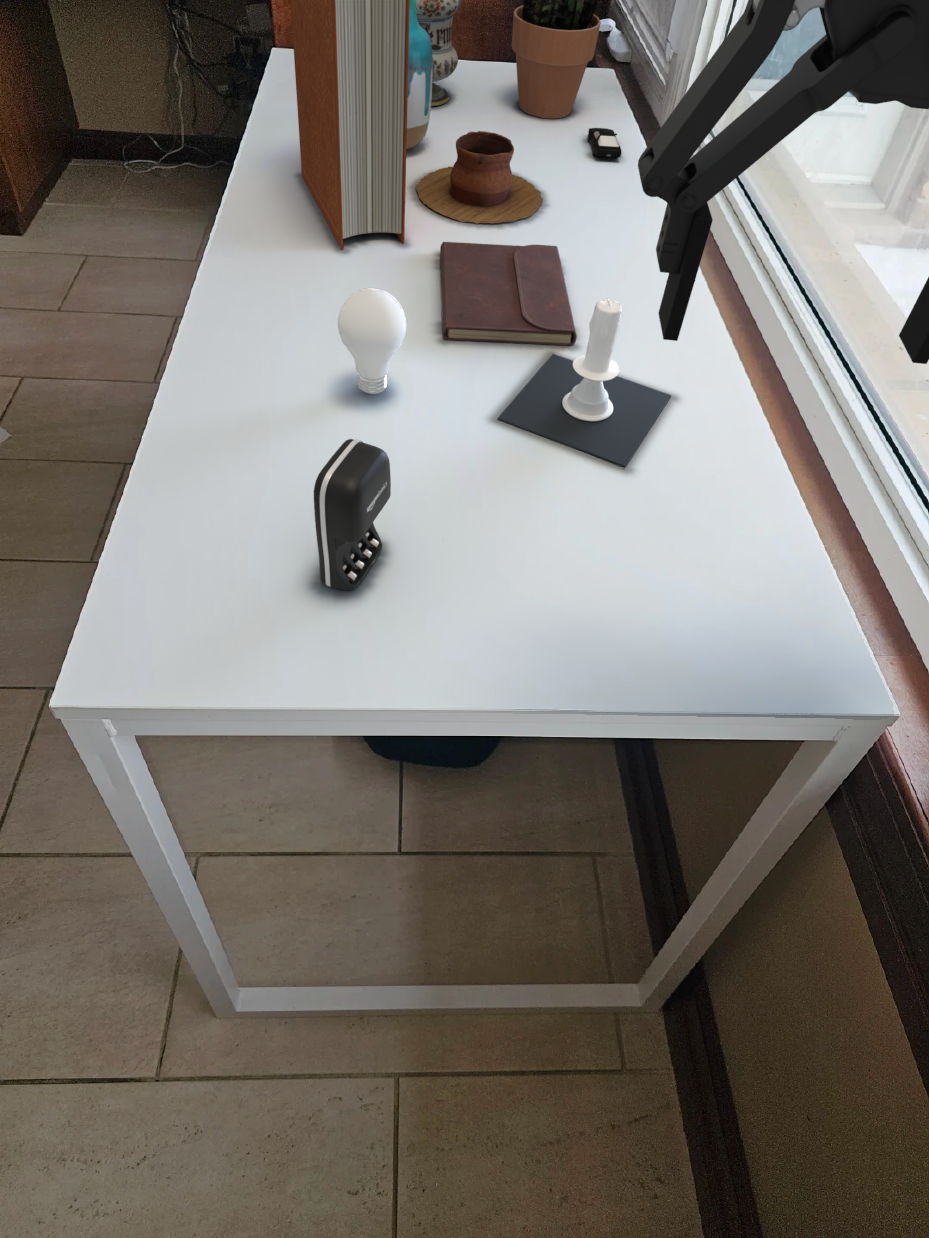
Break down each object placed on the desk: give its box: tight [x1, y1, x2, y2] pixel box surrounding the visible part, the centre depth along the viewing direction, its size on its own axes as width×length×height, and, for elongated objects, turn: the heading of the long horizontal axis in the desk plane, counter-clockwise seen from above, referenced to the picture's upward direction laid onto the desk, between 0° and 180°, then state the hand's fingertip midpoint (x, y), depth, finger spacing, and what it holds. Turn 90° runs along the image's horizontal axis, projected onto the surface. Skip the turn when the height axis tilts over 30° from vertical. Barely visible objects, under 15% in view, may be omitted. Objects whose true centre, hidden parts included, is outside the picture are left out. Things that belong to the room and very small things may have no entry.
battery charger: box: [313, 438, 392, 591], centre depth 69 cm, size 7×4×11 cm, turn 158°
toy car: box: [587, 127, 622, 158], centre depth 134 cm, size 10×4×3 cm, turn 3°
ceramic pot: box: [415, 130, 543, 225], centre depth 119 cm, size 18×18×7 cm
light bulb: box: [337, 287, 408, 395], centre depth 85 cm, size 7×7×11 cm
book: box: [290, 0, 410, 251], centre depth 105 cm, size 23×8×30 cm, turn 20°
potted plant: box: [511, 0, 602, 120], centre depth 135 cm, size 14×14×25 cm
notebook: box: [439, 241, 578, 347], centre depth 103 cm, size 15×20×2 cm
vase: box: [406, 0, 433, 150], centre depth 123 cm, size 11×11×19 cm
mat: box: [497, 353, 672, 468], centre depth 91 cm, size 14×14×1 cm
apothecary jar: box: [416, 0, 463, 107], centre depth 137 cm, size 12×12×18 cm
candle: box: [562, 298, 623, 421], centre depth 86 cm, size 5×5×12 cm
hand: (790, 339), depth 48 cm, fingers open, 13 cm apart
